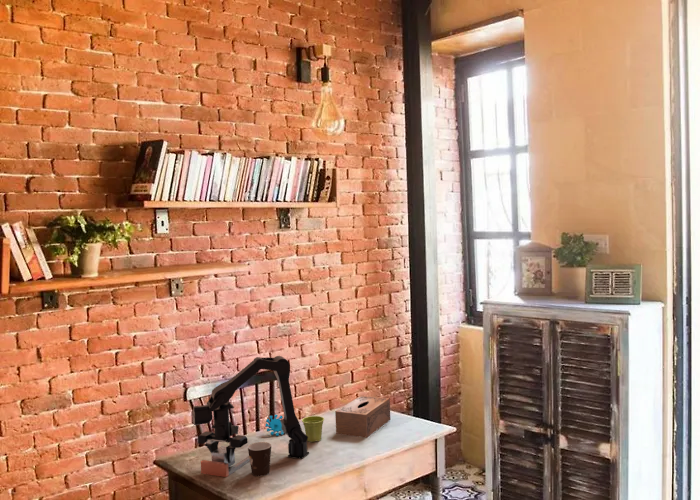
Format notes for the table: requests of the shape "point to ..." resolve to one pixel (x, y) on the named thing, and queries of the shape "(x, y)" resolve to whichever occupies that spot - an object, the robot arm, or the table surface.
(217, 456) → the metal box with button
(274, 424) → the blue spiky piece
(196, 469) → the table surface
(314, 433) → the plant pot
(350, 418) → the tissue box cover
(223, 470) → the channel
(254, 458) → the coffee mug
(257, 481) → the table surface
